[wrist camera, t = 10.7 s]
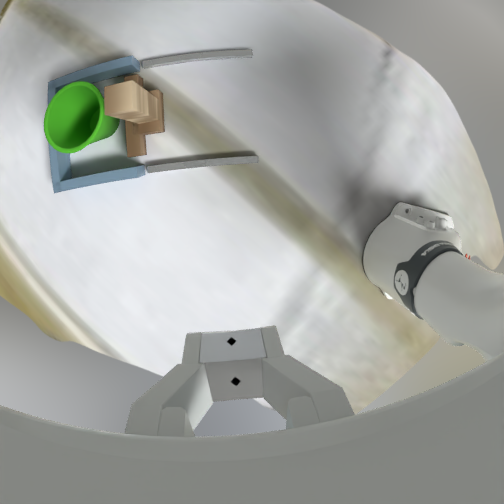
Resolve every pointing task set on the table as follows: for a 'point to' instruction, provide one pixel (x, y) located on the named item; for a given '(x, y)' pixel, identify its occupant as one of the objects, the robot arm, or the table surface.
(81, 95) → the cup
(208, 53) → the track
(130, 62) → the bay
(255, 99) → the table surface
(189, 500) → the robot arm
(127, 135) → the stepped wooden block
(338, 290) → the table surface
